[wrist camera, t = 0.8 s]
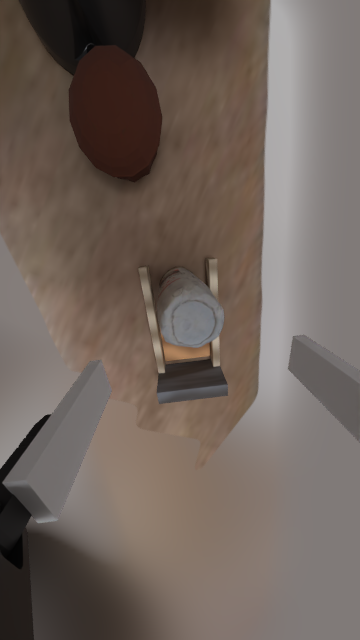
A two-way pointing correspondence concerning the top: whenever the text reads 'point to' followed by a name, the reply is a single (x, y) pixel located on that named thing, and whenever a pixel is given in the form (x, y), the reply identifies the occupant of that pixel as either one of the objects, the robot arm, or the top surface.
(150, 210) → the top surface
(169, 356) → the track
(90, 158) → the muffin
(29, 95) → the top surface
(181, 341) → the grey cylinder
